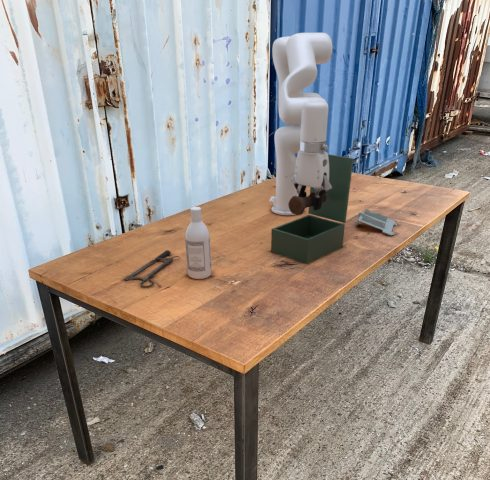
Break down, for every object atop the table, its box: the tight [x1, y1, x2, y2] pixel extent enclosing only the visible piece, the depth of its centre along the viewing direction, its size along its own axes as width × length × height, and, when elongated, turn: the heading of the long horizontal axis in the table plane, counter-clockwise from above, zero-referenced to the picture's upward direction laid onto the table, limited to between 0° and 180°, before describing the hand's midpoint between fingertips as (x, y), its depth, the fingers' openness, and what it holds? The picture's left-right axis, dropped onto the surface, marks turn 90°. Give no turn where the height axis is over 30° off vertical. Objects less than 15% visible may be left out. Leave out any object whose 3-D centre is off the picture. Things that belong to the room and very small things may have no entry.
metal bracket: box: [354, 208, 398, 236], centre depth 181 cm, size 14×6×15 cm
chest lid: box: [307, 153, 354, 224], centre depth 163 cm, size 20×15×5 cm
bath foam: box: [184, 206, 212, 280], centre depth 143 cm, size 7×7×20 cm
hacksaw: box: [124, 249, 181, 288], centre depth 151 cm, size 24×10×2 cm, turn 153°
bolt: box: [288, 192, 327, 216], centre depth 156 cm, size 6×5×15 cm
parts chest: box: [270, 214, 346, 265], centre depth 162 cm, size 19×15×8 cm
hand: (309, 207), depth 157 cm, fingers closed on bolt, 5 cm apart
